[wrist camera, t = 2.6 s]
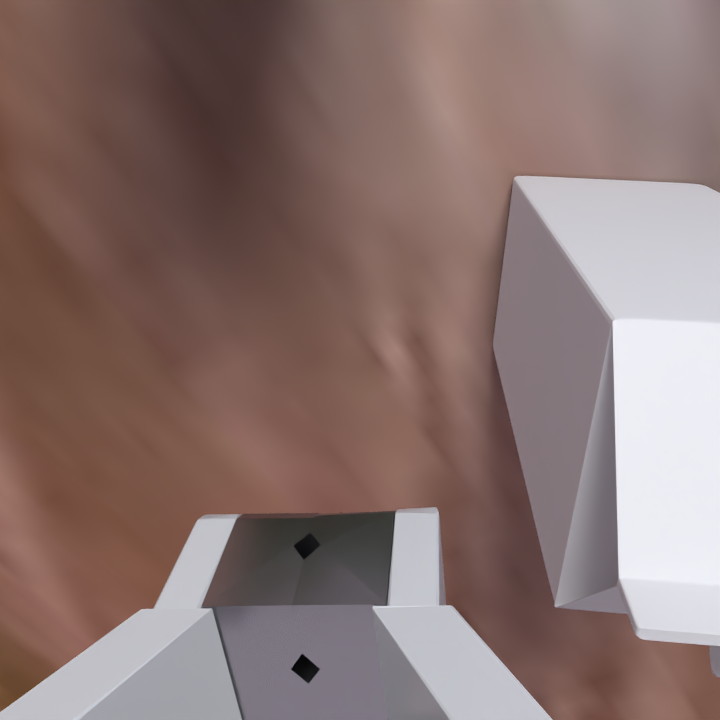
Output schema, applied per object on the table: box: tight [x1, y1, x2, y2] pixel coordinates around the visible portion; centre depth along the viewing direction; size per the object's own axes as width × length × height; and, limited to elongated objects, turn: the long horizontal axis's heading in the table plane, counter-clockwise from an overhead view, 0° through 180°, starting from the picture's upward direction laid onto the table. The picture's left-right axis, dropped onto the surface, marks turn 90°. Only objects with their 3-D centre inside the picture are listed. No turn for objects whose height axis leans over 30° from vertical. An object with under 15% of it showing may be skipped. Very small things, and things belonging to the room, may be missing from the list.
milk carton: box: [493, 176, 720, 677], centre depth 19 cm, size 7×7×19 cm
